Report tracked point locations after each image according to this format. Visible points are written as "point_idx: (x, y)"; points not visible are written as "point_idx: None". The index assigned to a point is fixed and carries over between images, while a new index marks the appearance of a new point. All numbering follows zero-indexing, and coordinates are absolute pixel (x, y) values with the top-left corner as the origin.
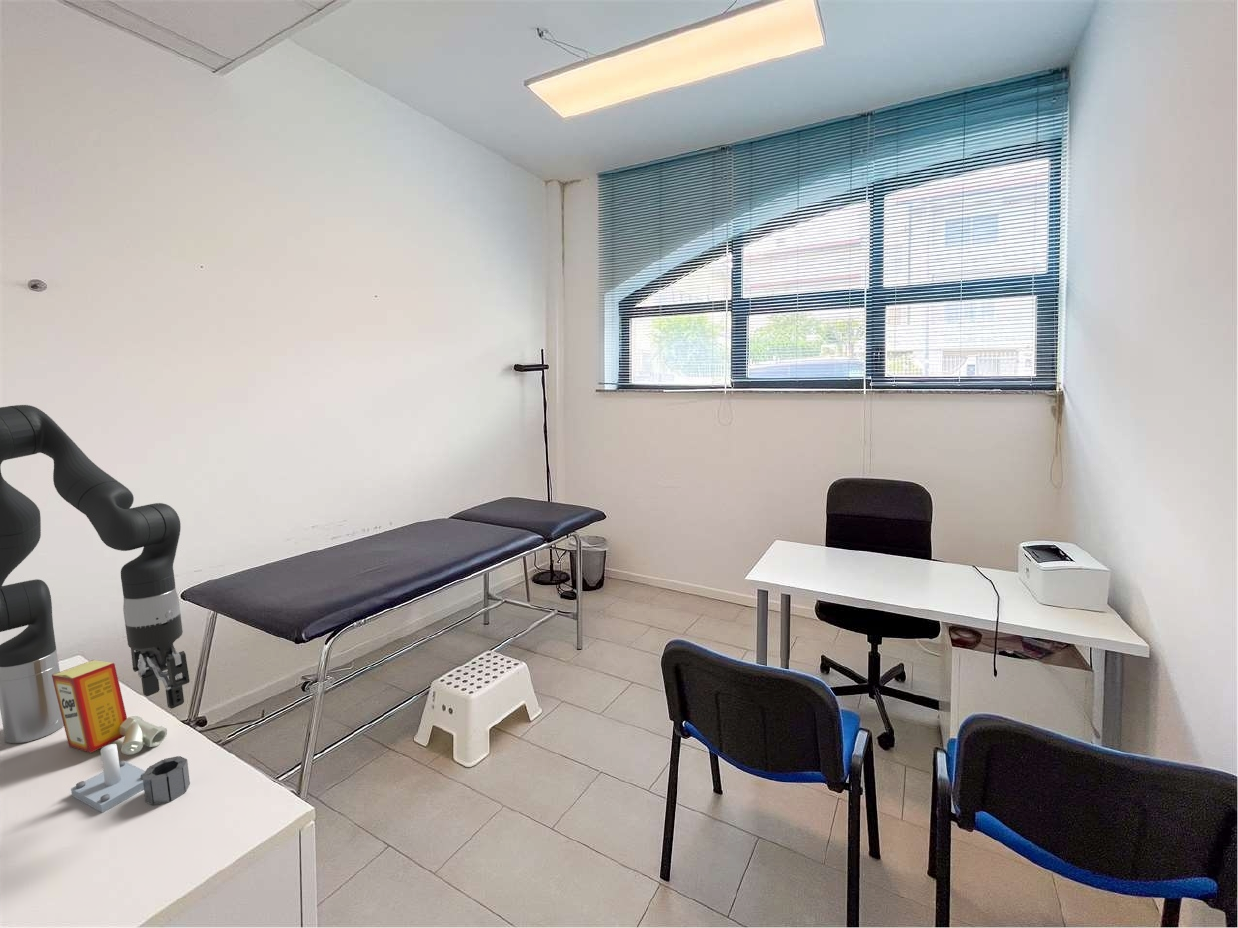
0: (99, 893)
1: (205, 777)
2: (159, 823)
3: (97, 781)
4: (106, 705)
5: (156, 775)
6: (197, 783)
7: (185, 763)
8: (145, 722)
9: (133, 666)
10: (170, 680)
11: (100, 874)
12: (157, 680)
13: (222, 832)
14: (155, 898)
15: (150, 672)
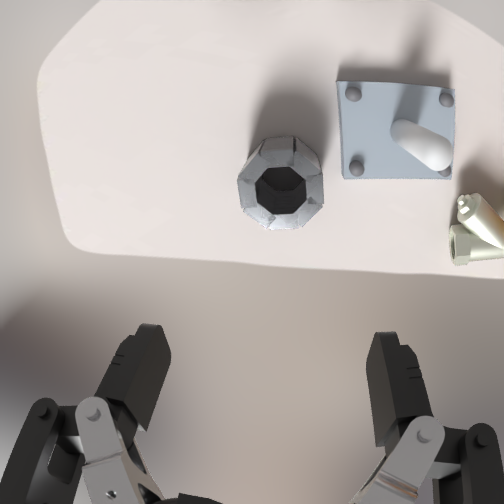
0: (111, 28)
1: None
2: (197, 124)
3: (431, 120)
4: None
5: (266, 167)
6: None
7: (256, 220)
8: (494, 256)
9: (491, 447)
10: (34, 437)
11: (150, 32)
12: (373, 410)
13: (96, 176)
14: (50, 83)
15: (391, 449)
